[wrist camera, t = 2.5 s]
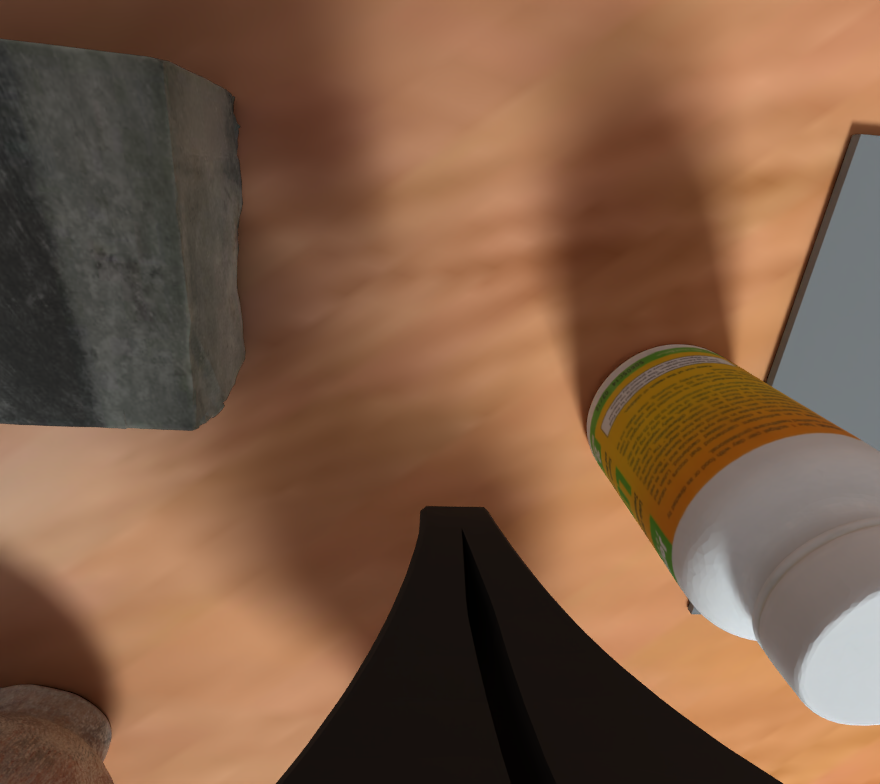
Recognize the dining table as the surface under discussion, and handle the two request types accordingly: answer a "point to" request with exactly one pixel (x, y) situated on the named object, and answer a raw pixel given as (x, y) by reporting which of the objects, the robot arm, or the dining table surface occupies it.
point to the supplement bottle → (754, 515)
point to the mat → (840, 307)
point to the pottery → (51, 737)
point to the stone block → (116, 241)
